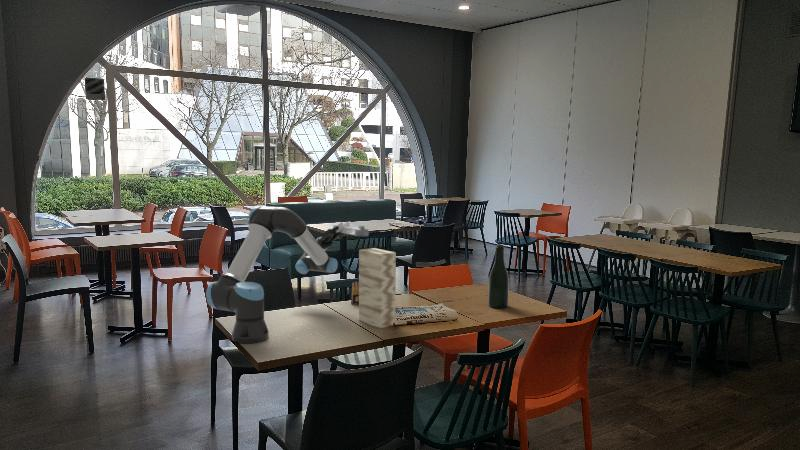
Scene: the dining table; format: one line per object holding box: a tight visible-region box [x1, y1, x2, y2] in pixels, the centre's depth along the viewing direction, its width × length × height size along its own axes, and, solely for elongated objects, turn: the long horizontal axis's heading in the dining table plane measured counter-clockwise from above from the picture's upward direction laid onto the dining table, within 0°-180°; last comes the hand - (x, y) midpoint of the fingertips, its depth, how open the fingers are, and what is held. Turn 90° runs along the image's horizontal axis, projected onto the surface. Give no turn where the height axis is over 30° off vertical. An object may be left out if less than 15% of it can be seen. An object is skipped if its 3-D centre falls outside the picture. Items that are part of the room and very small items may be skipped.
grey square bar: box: [332, 224, 370, 238], centre depth 272 cm, size 6×25×5 cm, turn 41°
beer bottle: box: [487, 243, 510, 309], centre depth 290 cm, size 10×10×33 cm
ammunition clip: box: [350, 281, 359, 305], centre depth 296 cm, size 11×2×12 cm, turn 121°
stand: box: [358, 247, 397, 329], centre depth 259 cm, size 9×16×34 cm, turn 41°
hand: (345, 224), depth 275 cm, fingers closed on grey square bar, 3 cm apart
